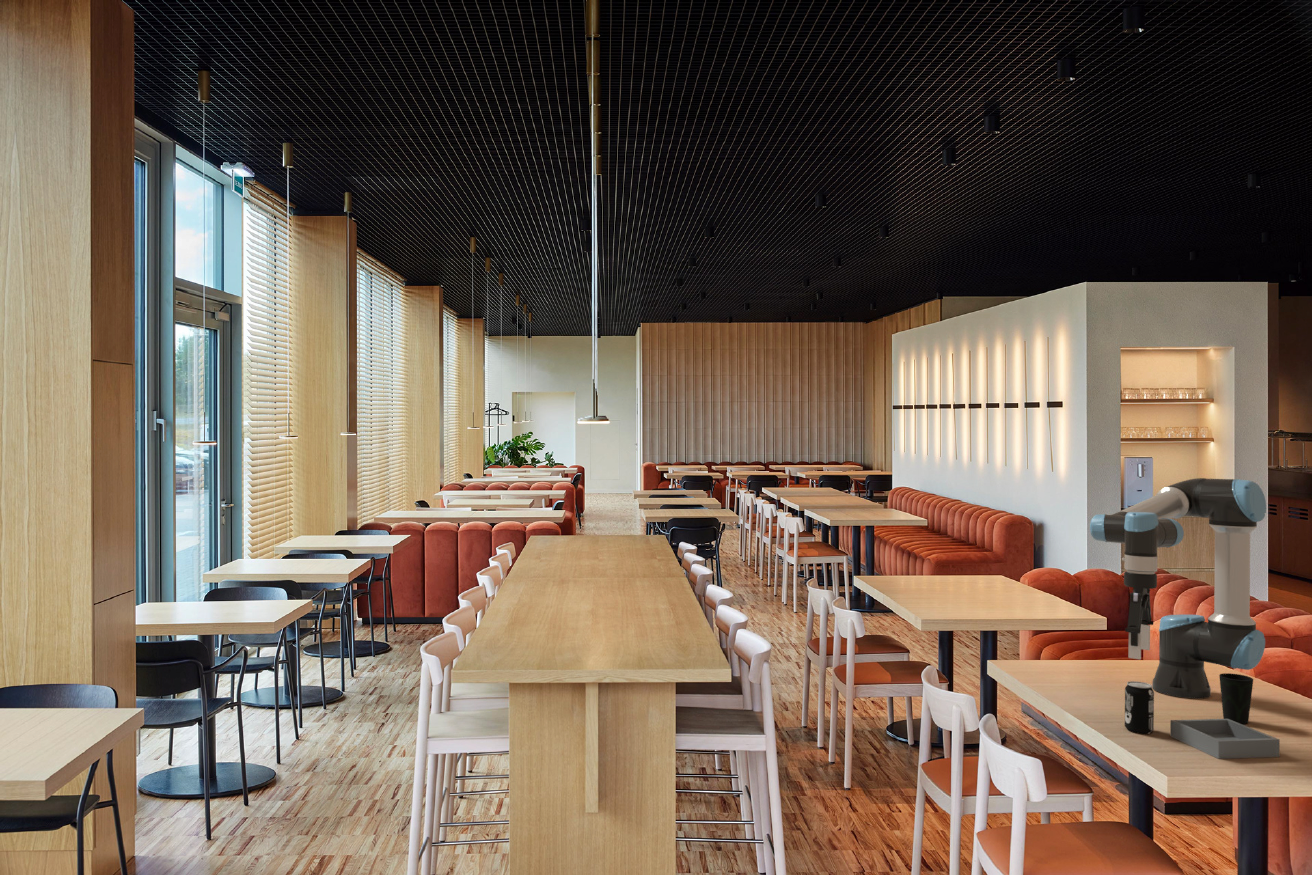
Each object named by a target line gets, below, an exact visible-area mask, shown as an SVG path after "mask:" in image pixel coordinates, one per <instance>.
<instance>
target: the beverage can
mask: <svg viewBox="0 0 1312 875" xmlns="http://www.w3.org/2000/svg"><path fill="white" fill-rule="evenodd" d="M1154 704H1155V690H1154V689H1153V688H1152V684H1150V683H1148V682H1144V681H1143V682H1142V681H1134V680H1132V681H1131V680H1130V681H1127V682H1126V686H1125V688H1124V727H1125V729H1126V730H1128V731H1129V732H1131V733H1134V734H1138V735H1139V734H1141V735H1148V734H1151V733H1152V732H1153V731H1154V727H1155V726H1154V725H1155V724H1154V722H1155V721H1154V718H1155V717H1154V716H1155V709H1154V708H1155V705H1154Z"/></svg>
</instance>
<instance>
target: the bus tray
mask: <svg viewBox="0 0 1312 875" xmlns="http://www.w3.org/2000/svg"><path fill="white" fill-rule="evenodd" d="M1170 737H1171V738H1173V739H1175V740H1176V741H1177V740H1178V741H1179V742H1181V743H1184V744H1186V745H1187V746H1190V747H1192V748H1194V749H1196V750H1199V751H1201V752H1203V753H1205V754H1207V755H1210V756H1212V757H1214V758H1216V759H1218V760H1221V759H1222V760H1223V759H1225V760H1226V759H1248V758H1249V759H1251V758H1279V757H1280V739H1279V738H1277V737H1275V736H1271V735H1269V734H1267V733H1265V732H1262V731H1259V730H1257V729H1254V728H1252V727H1249V726H1247V725H1242V724H1240V723H1237V722H1235V721H1232V720H1230V719H1223V718H1209V719H1208V718H1205V719H1203V718H1202V719H1201V718H1200V719H1171V720H1170Z"/></svg>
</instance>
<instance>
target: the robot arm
mask: <svg viewBox="0 0 1312 875" xmlns="http://www.w3.org/2000/svg"><path fill="white" fill-rule="evenodd" d="M1266 501H1267V500H1266V496H1265V494H1264V492H1263V489H1262V488H1261V487H1260V485H1259V484H1258V483H1256V482H1255V481H1252V480H1247V479H1239V478H1234V479H1233V478H1229V479H1227V478H1205V477H1199V478H1197V477H1196V478H1190V479H1185V480H1182V481H1178V482H1176V483H1173V484H1170V485H1168V486H1165V487H1163V488H1162V489H1160V490H1158V491H1157V492H1156V495H1154V496H1152V497H1149V498H1147V499H1144V500H1143V501H1140V502H1138V503H1136V504H1133V505H1131V506H1129V507H1126V508H1123V509H1122V510H1120V511H1118V512H1115V513H1113V514H1106V513H1104V514H1095V515H1093V517H1092V518H1091V520H1090V522H1089V532H1090V536H1091V537H1092V538H1093V539H1094V540H1096V541H1101V542H1105V543H1113V544H1114V543H1115V544H1124V556H1123V557H1122V558H1121V561H1122V562H1124V566H1123V567H1124V570H1125V571H1124V572H1123V585H1124V586H1126V587H1128V588H1132V589H1133V590H1132V592H1129V593H1130V594H1129V596H1130V597H1129V607H1128V608H1129V610H1128V619H1127V627H1126V628H1124V629H1125V630H1124V631H1125V632H1126V633H1128V650H1127V651H1128V652H1127V653H1128V657H1127V658H1128V659H1134V660H1141V659H1142V650H1144V651H1150V650H1151V626H1154V620H1152V611H1151V595H1150V594H1151V590H1153V589H1156V588H1158V575H1157V573H1156V572H1158V548H1167V549H1168V548H1171V547H1175V546H1177V545H1179V544H1180V543H1181V542H1182V541H1183V539H1184V534H1185V533H1184V528H1183V526H1182V525H1181V523H1180V522H1179V521H1177V520H1175V519H1180V518H1182V517H1195V518H1197V517H1198V518H1205V519H1208V526H1210V528H1212V530H1213V531H1214V589H1213V590H1214V594H1213V596H1214V597H1213V598H1214V600H1213V601H1214V605H1213V606H1214V607H1213V608H1214V610H1213V611H1214V612H1213V613H1212V614H1210V616H1208V617H1207V619H1208V620H1207V621H1206V618H1205V616H1204V615H1199V614H1168V615H1165V616H1162V617H1161V618H1160V620H1159V627H1158V628H1159V629H1158V633H1159V634H1158V635H1159V641H1158V642H1159V647H1158V648H1159V649H1158V650H1159V651H1158V652H1159V653H1158V654H1159V655H1158V656H1159V658H1158V661H1159V662H1158V666H1157V669H1156V671H1155V674H1154V678H1152V681H1151V682H1152V683H1151V685H1152V689H1153V691H1154V692H1155V691H1156V692H1157V693H1161V694H1164V695H1166V696H1167V695H1168V696H1171V697H1177V698H1185V699H1207V698H1210V697H1211V696H1212V695H1211V694H1212V692H1211V690H1212V689H1211V685H1210V683H1209V678H1208V676H1207V673H1206V671H1205V663H1209V664H1214V665H1218V666H1223V667H1229V668H1232V669H1239V670H1245V671H1246V670H1247V671H1249V670H1252V669H1254V668H1256V667H1257V666H1258V665H1259V663H1260V662H1261V660H1262V658H1263V656H1264V653H1265V648H1266V638H1265V635H1264V633H1263V631H1260V630H1259V629H1257V622H1256V620H1254V619H1253V618H1252V617H1251V616H1250V614H1251V613H1250V611H1251V608H1250V606H1251V604H1250V603H1251V598H1250V597H1251V594H1250V593H1251V590H1250V589H1251V533H1252V532H1253V531H1254V530H1256V528H1257V527H1258V526H1257V524H1258V522H1261V521H1263V520H1264V518H1265V517H1266V513H1267V502H1266Z"/></svg>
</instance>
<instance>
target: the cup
mask: <svg viewBox="0 0 1312 875" xmlns="http://www.w3.org/2000/svg"><path fill="white" fill-rule="evenodd" d="M1218 678H1219V686H1220V695H1221V708H1222V717H1223V718H1222V719H1230V720H1232V721H1235V722H1237V723H1240V724H1242V725H1245V726H1247V725H1248V724H1249V720H1250V710H1251V703H1252V694H1253V688H1254V687H1253V686H1254V678H1253V677H1250V676H1248V675H1245V674H1244V675H1243V674H1240V673H1239V674H1238V673H1231V672H1229V673H1226V672H1224V673H1220V674H1219V677H1218Z"/></svg>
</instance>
